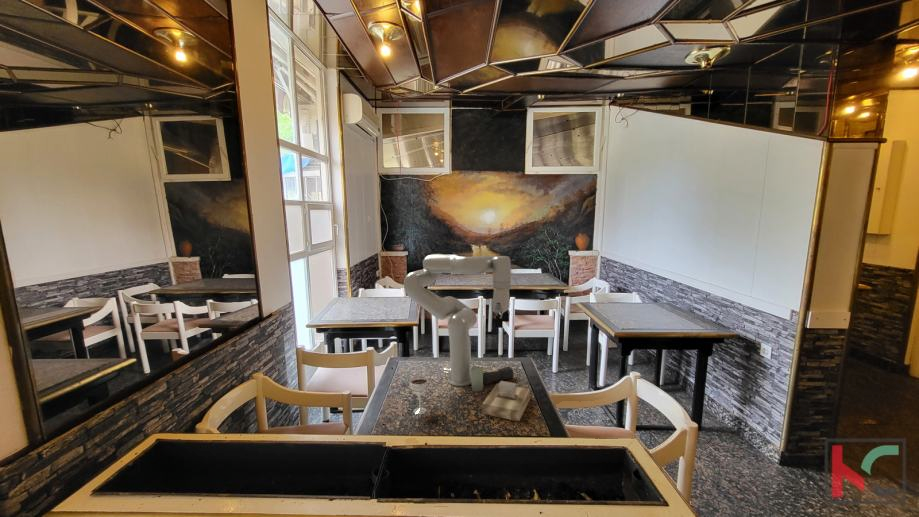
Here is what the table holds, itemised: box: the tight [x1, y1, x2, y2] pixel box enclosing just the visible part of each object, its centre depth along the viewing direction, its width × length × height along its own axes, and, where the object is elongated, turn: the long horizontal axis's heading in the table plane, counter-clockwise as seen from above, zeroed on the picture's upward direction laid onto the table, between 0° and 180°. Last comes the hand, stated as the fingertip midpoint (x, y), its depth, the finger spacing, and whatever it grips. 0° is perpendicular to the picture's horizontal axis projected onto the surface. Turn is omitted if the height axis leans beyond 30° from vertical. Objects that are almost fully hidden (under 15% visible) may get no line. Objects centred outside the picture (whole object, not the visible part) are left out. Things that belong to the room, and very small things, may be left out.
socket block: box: [481, 383, 531, 422], centre depth 132 cm, size 14×18×4 cm
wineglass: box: [410, 376, 429, 415], centre depth 129 cm, size 7×7×12 cm
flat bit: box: [498, 380, 517, 400], centre depth 132 cm, size 6×3×9 cm, turn 65°
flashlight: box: [483, 365, 515, 386], centre depth 154 cm, size 15×5×5 cm, turn 116°
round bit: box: [471, 366, 484, 393], centre depth 146 cm, size 5×5×9 cm
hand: (502, 324), depth 145 cm, fingers open, 9 cm apart
